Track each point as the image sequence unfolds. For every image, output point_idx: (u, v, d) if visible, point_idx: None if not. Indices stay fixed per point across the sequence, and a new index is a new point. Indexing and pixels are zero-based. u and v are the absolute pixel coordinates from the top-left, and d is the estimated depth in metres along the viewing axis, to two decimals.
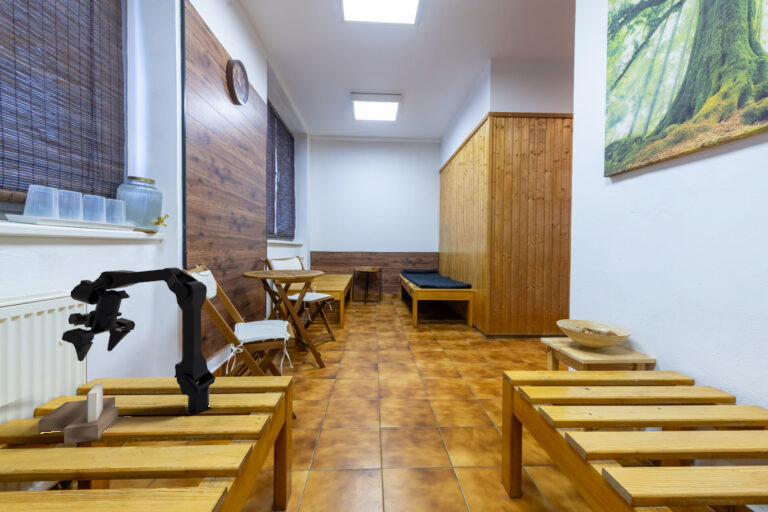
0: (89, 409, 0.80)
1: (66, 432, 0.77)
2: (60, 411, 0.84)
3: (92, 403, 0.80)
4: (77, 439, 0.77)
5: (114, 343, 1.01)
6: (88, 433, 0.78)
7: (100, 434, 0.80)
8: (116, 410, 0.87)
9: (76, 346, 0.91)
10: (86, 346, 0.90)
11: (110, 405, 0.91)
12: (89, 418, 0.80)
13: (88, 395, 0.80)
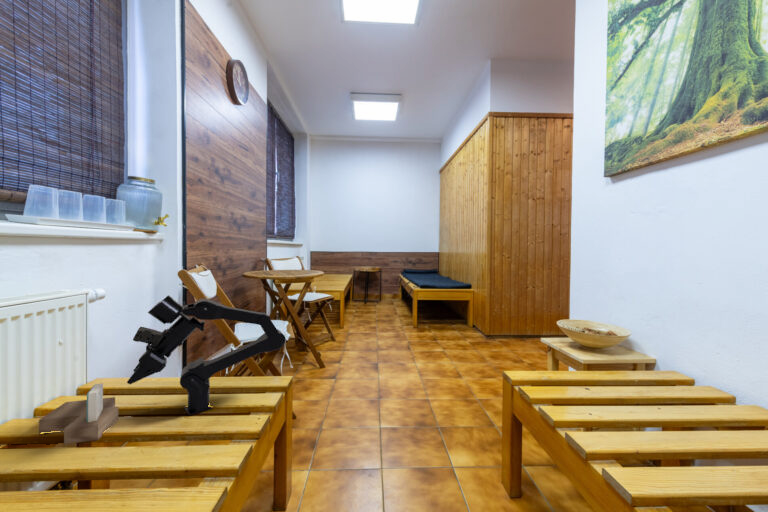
0: (89, 409, 0.80)
1: (66, 432, 0.77)
2: (60, 411, 0.84)
3: (92, 403, 0.80)
4: (77, 439, 0.77)
5: None
6: (88, 433, 0.78)
7: (100, 434, 0.80)
8: (116, 410, 0.87)
9: (140, 368, 0.83)
10: (155, 372, 0.84)
11: (110, 405, 0.91)
12: (89, 418, 0.80)
13: (88, 395, 0.80)
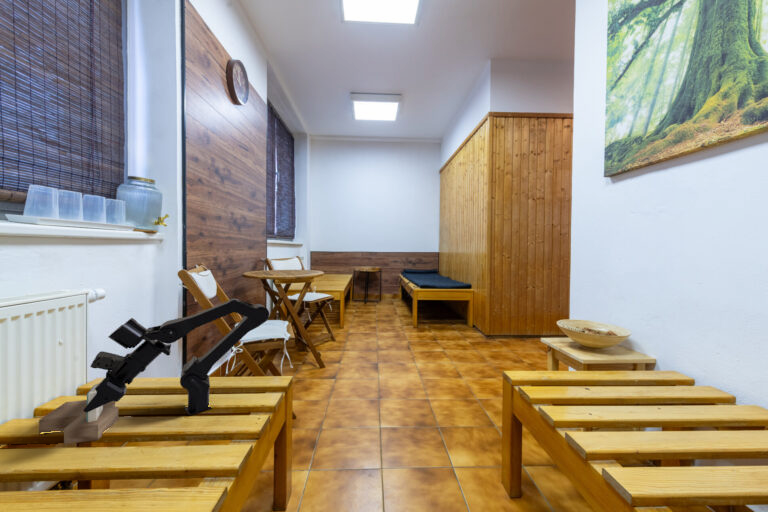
0: None
1: (66, 432, 0.77)
2: (60, 411, 0.84)
3: None
4: (77, 439, 0.77)
5: None
6: (88, 433, 0.78)
7: (100, 434, 0.80)
8: (116, 410, 0.87)
9: (97, 396, 0.79)
10: None
11: (110, 405, 0.91)
12: (89, 418, 0.80)
13: (88, 395, 0.80)
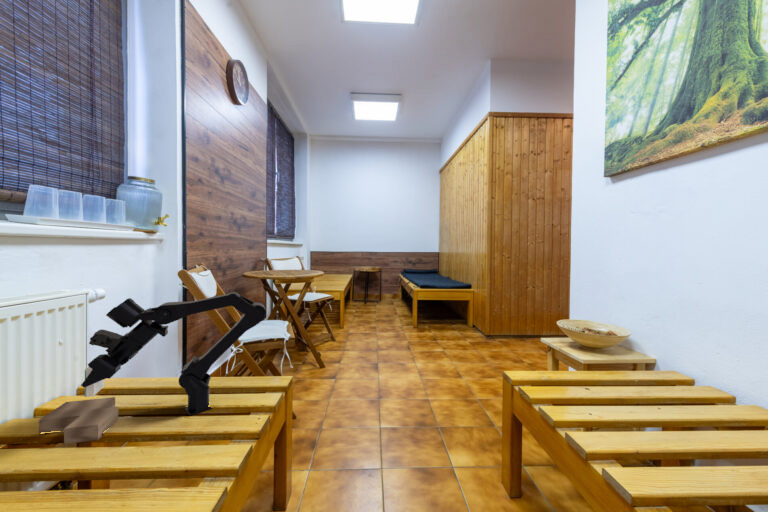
0: None
1: (66, 432, 0.77)
2: (60, 411, 0.84)
3: None
4: (77, 439, 0.77)
5: None
6: (88, 433, 0.78)
7: (100, 434, 0.80)
8: (116, 410, 0.87)
9: (93, 372, 0.81)
10: None
11: (110, 405, 0.91)
12: (87, 393, 0.82)
13: (86, 371, 0.82)
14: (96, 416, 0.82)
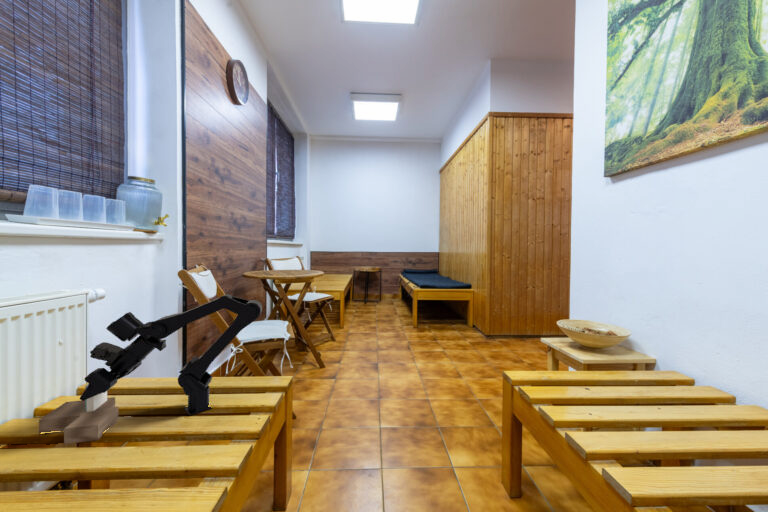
0: (87, 400, 0.85)
1: (66, 432, 0.77)
2: (60, 411, 0.84)
3: None
4: (77, 439, 0.77)
5: None
6: (88, 433, 0.78)
7: (100, 434, 0.80)
8: (116, 410, 0.87)
9: (90, 386, 0.83)
10: None
11: (110, 405, 0.91)
12: (87, 408, 0.85)
13: (86, 386, 0.84)
14: (96, 416, 0.82)
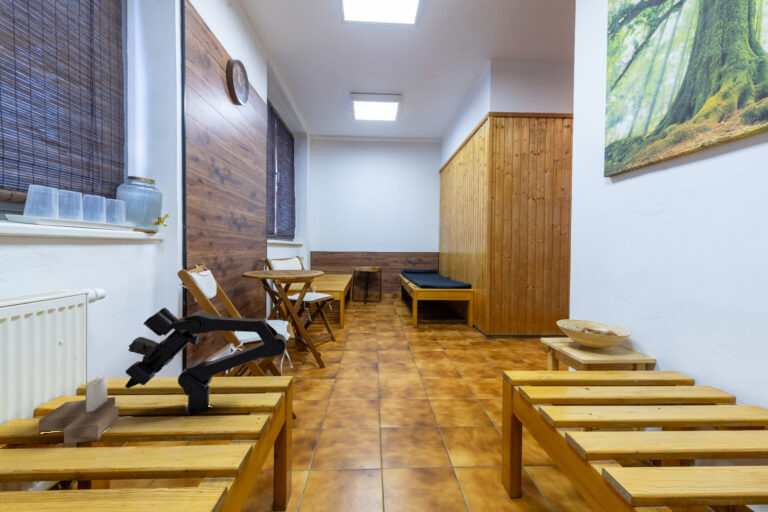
0: (87, 400, 0.85)
1: (66, 432, 0.77)
2: (60, 411, 0.84)
3: (90, 394, 0.85)
4: (77, 439, 0.77)
5: None
6: (88, 433, 0.78)
7: (100, 434, 0.80)
8: (116, 410, 0.87)
9: None
10: None
11: (110, 405, 0.91)
12: (87, 408, 0.85)
13: (86, 386, 0.84)
14: (96, 416, 0.82)
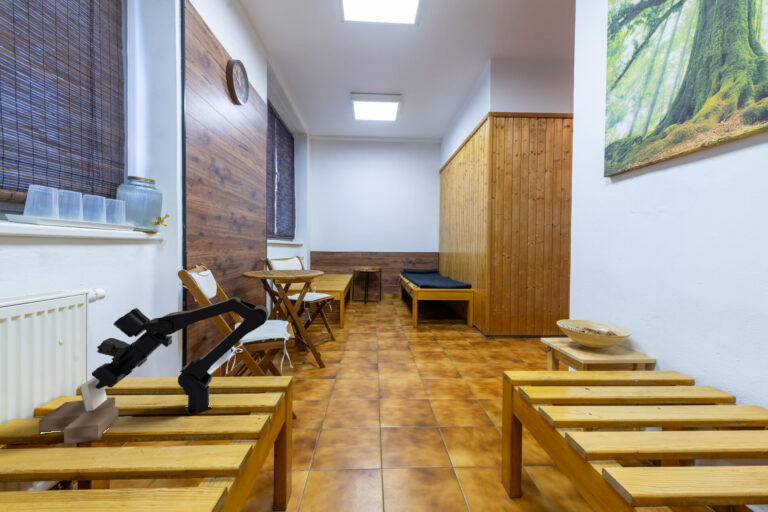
0: (85, 400, 0.84)
1: (66, 432, 0.77)
2: (60, 411, 0.84)
3: (86, 394, 0.84)
4: (77, 439, 0.77)
5: None
6: (88, 433, 0.78)
7: (100, 434, 0.80)
8: (116, 410, 0.87)
9: None
10: None
11: (110, 405, 0.91)
12: (87, 408, 0.85)
13: (81, 387, 0.84)
14: (96, 416, 0.82)
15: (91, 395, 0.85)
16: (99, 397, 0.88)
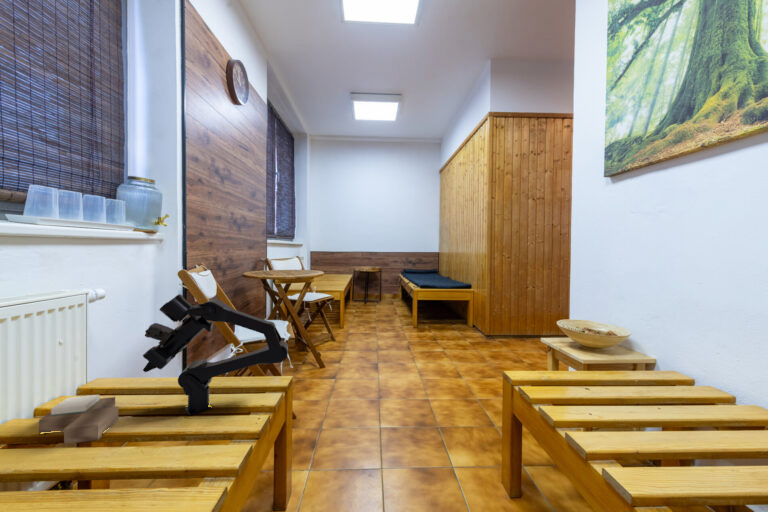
0: (70, 411, 0.84)
1: (66, 432, 0.77)
2: None
3: (63, 410, 0.83)
4: (77, 439, 0.77)
5: None
6: (88, 433, 0.78)
7: (100, 434, 0.80)
8: (116, 410, 0.87)
9: None
10: None
11: (110, 405, 0.91)
12: (81, 410, 0.84)
13: (53, 414, 0.82)
14: (96, 416, 0.82)
15: (68, 406, 0.84)
16: (84, 400, 0.87)
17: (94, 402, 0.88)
